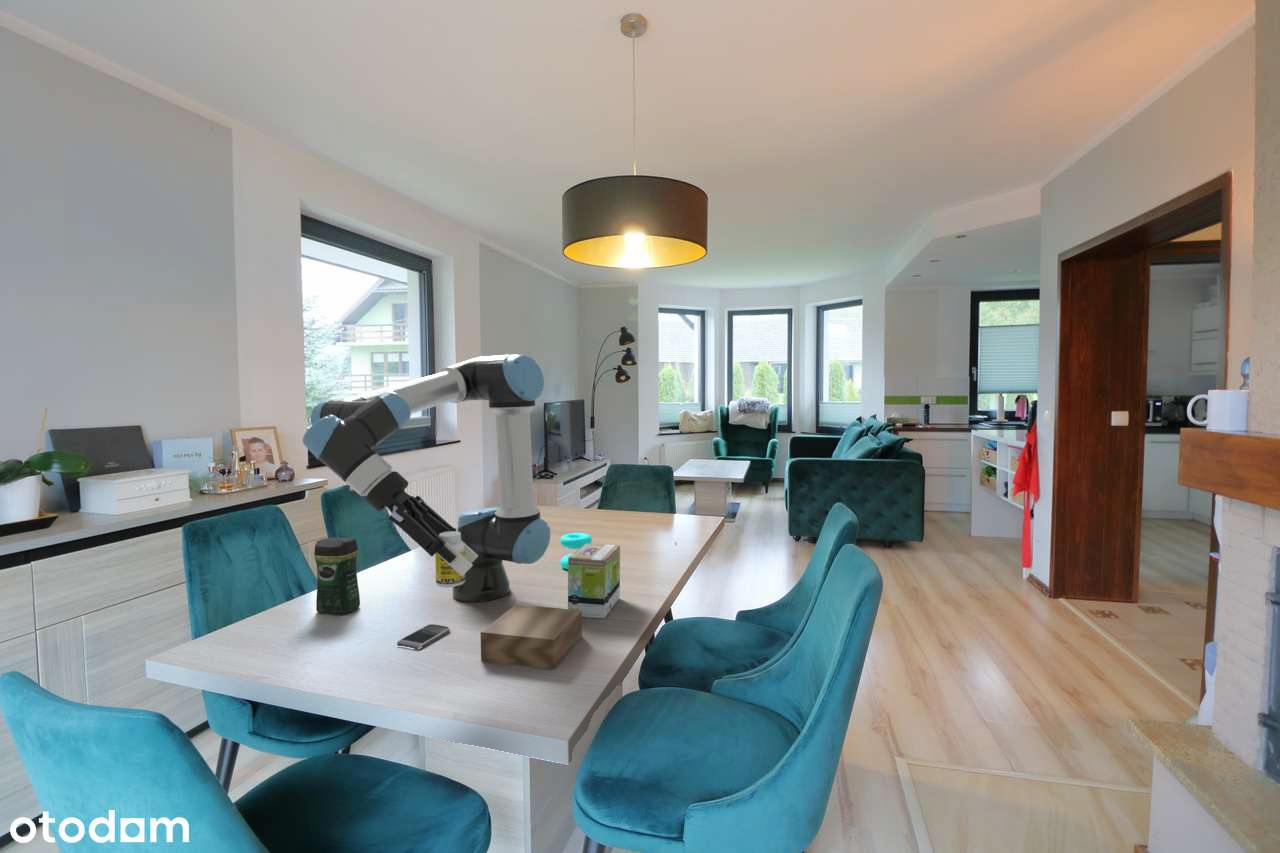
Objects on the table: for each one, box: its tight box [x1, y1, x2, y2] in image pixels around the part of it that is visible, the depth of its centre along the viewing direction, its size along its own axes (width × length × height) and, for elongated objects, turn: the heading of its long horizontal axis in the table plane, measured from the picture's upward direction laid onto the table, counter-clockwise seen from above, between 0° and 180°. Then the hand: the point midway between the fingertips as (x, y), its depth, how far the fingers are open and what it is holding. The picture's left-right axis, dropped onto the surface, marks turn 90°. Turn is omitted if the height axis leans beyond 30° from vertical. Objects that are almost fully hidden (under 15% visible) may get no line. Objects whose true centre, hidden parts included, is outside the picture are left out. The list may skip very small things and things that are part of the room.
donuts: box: [560, 532, 593, 570], centre depth 181 cm, size 10×10×10 cm
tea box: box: [567, 543, 621, 619], centre depth 146 cm, size 15×10×15 cm
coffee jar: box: [313, 537, 361, 616], centre depth 145 cm, size 10×8×19 cm
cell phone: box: [396, 624, 451, 650], centre depth 128 cm, size 6×11×1 cm, turn 159°
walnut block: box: [480, 603, 583, 670], centre depth 122 cm, size 16×16×6 cm
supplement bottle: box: [434, 530, 465, 589], centre depth 110 cm, size 5×5×10 cm
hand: (470, 565), depth 110 cm, fingers closed on supplement bottle, 5 cm apart
